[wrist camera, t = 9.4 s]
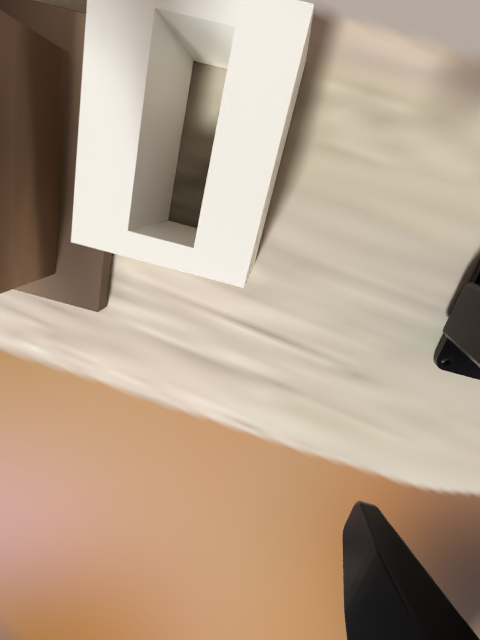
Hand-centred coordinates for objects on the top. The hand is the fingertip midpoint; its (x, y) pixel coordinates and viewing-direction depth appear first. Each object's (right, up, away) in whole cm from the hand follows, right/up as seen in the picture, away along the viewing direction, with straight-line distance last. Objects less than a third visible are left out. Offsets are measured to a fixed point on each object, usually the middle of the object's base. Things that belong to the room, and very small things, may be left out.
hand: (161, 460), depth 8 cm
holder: (0, +11, +9) cm, 14 cm away
